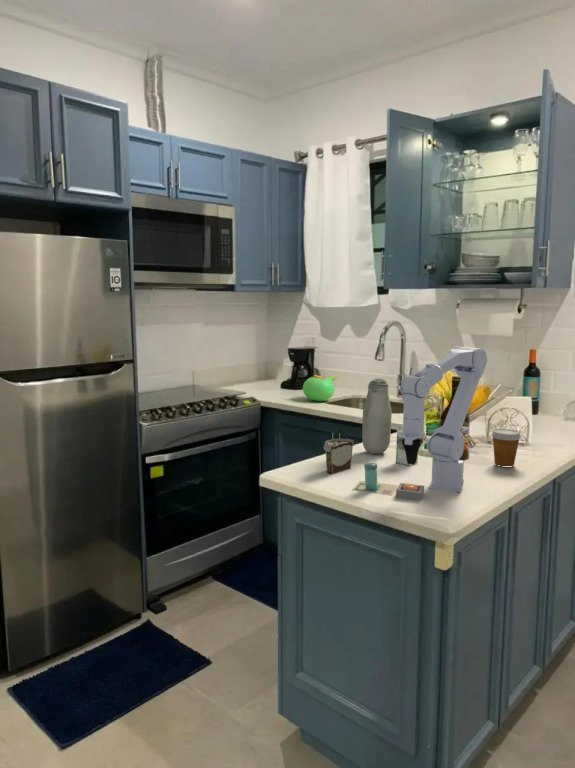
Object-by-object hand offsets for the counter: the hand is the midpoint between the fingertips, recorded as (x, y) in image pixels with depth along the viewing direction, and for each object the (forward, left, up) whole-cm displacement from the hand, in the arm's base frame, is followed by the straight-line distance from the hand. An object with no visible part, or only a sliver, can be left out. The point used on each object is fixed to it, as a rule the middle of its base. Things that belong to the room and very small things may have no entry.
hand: (411, 463), depth 173 cm
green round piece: (+74, -142, -10) cm, 160 cm away
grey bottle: (+20, -44, -10) cm, 49 cm away
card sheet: (+11, -3, -10) cm, 15 cm away
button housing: (0, 0, -10) cm, 10 cm away
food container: (+28, -17, -10) cm, 34 cm away
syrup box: (+7, -35, -10) cm, 37 cm away
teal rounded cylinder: (+12, -1, -10) cm, 15 cm away
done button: (0, 0, -9) cm, 9 cm away
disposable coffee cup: (-25, -46, -10) cm, 53 cm away
